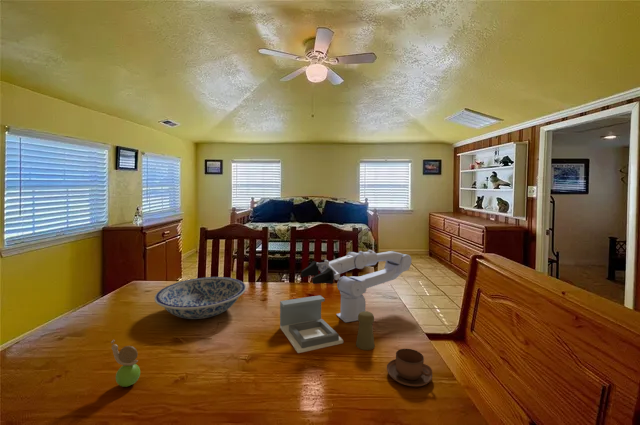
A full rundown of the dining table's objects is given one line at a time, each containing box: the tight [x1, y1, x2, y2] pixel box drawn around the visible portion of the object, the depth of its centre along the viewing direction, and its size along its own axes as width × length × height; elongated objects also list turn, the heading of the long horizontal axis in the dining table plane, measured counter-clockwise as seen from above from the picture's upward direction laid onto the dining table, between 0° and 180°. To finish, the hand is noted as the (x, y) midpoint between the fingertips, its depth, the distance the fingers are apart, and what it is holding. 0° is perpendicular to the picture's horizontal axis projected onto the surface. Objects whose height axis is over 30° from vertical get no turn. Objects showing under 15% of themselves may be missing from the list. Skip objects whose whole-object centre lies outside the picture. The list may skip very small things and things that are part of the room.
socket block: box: [279, 295, 344, 354], centre depth 108 cm, size 16×19×10 cm
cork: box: [355, 310, 375, 351], centre depth 101 cm, size 6×6×11 cm
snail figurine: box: [110, 339, 141, 388], centre depth 80 cm, size 5×6×12 cm
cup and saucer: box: [386, 348, 433, 387], centre depth 85 cm, size 12×12×6 cm
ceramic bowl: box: [154, 276, 247, 320], centre depth 126 cm, size 34×34×10 cm
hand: (307, 277), depth 110 cm, fingers open, 7 cm apart
